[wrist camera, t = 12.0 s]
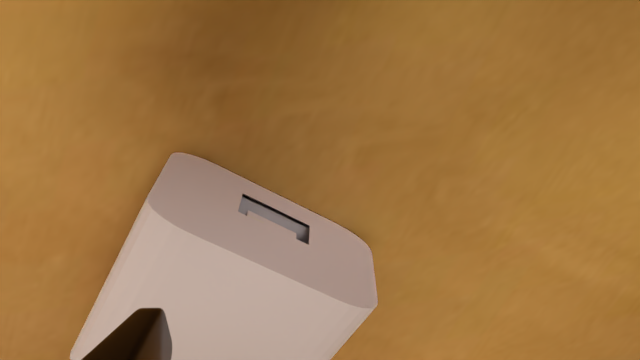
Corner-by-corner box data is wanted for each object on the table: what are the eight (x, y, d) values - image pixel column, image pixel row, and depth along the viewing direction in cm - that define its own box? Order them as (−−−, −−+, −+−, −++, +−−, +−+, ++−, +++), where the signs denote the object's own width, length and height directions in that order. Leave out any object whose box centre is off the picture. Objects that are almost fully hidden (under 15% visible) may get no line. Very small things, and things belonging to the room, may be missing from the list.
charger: (67, 364, 27) (177, 143, 21) (226, 422, 30) (371, 239, 23) (21, 450, 23) (140, 208, 17) (210, 509, 25) (380, 317, 19)
